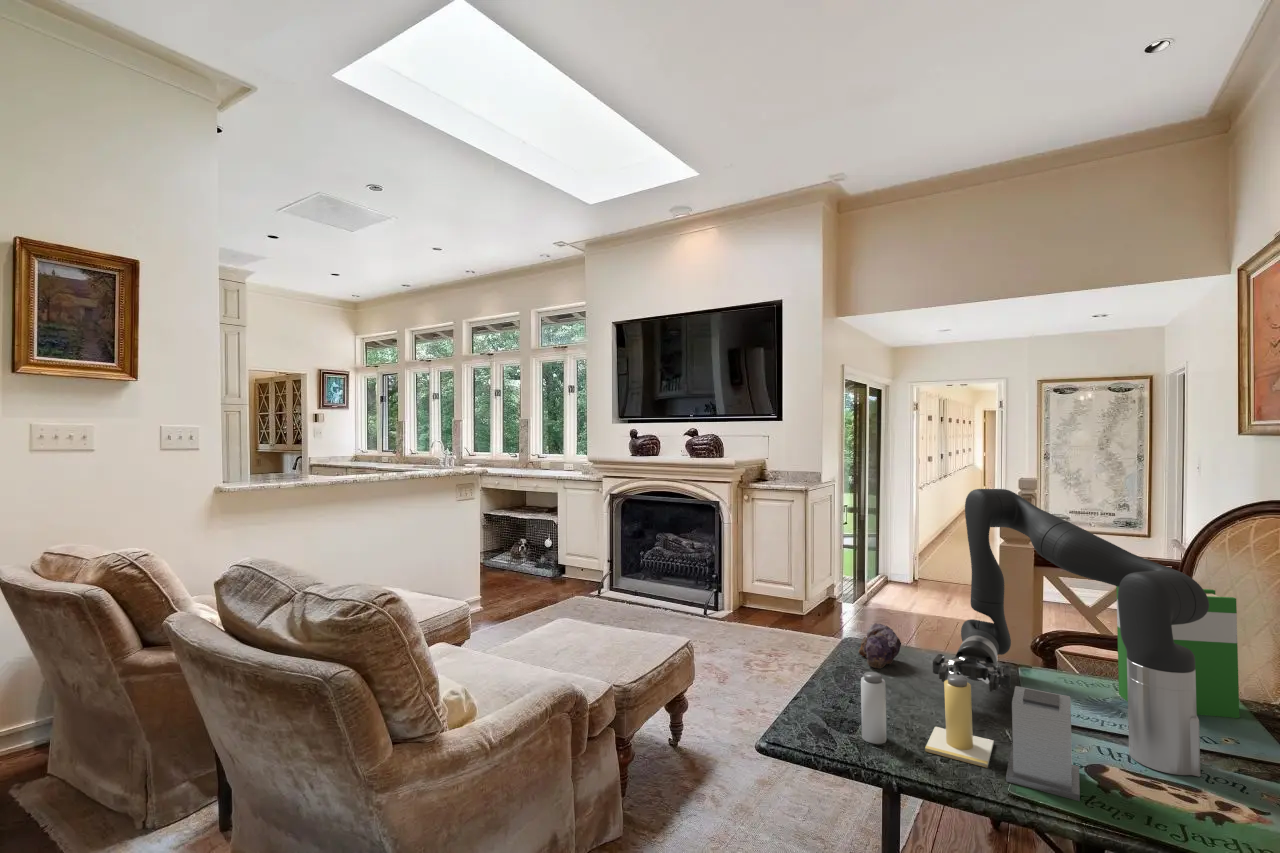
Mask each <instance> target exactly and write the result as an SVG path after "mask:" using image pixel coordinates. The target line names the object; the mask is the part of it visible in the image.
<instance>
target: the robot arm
mask: <svg viewBox="0 0 1280 853" xmlns="http://www.w3.org/2000/svg"><path fill="white" fill-rule="evenodd" d="M964 517H965V525H966V532H967V535H966V536H967V541H968V548H969V557H970V563H971V566H970V567H971V580H970V584H971V585H970V587H971V588H970V607H971V609H972V610H974V611H976V612H977V613H980V614H982V615H984V616H986V617H988V618H990V620H991V621H992V622H989V621H984V620H979V619H967V620H965V621H964V622H963V623H962V625H961V629H960V637H961V641H962V643H961V644H960V646H959V648H958V650H957V652H956V654H955V657H951V659H948V658H946V656H945V655H944V654H941V653H938V654H937V655H936V656H935V657H934V659H933V660H932V673H933V674H935V675H938V679H939V680H941V683H944V681H945V680H948V676H950V675H958V676H962V677H965V678H966V679H969V680H970V681H974V682H975V681H976V682H983V683H985V684H986V685H989V692H991V693H994V692H995V691H999V688H1000V687H1001V686H1003V687H1004V688H1006V689H1011V686H1012V684H1011V683H1012V678H1011V677H1012V676H1011V674H1012V672H1011V671H1012V670H1011V669H1012V668H1011V666H1010V665H1004V666H1003V667H1001V668H999V667H997V665H998V655H1000V656H1003V655H1005V654H1007V653H1008V652H1009V651H1010V649H1011V645H1012V641H1011V640H1012V639H1011V635H1010V631H1009V628H1008V624H1007V620H1006V616H1005V608H1004V607H1005V579H1004V574H1003V571H1002V569H1001V567H1000V565H999V563H998V561H997V559H996V557H995V555H994V553H993V551H992V548H991V543H990V531H991V528H1008V529H1011V530H1013V531H1017V532H1018V533H1021V534H1023V535H1025V536H1026V537H1028V538H1029V539H1030V542H1031V545H1032V547H1033V549H1034V550H1035V551H1036V553H1037V554H1038V555H1039V556H1041V557H1042V558H1044V559H1045V560H1046V561H1048V562H1050V563H1051V564H1053V565H1055V566H1056V567H1058V568H1061V569H1062V570H1064V571H1066V572H1068V573H1071V574H1073V575H1076V576H1080V577H1083V578H1087V579H1089V580H1092V581H1097V582H1100V583H1105V584H1108V585H1113V586H1115V587H1116V586H1117V587H1119V589H1118V608H1119V619H1120V631H1121V637H1122V640H1123V643H1124V645H1125V647H1126V651H1127V685H1128V702H1127V717H1128V720H1127V721H1128V723H1127V724H1128V726H1127V727H1128V754H1129V756H1130V757H1131V758H1132V759H1133V760H1134V761H1136V762H1137V763H1139V764H1140V765H1143V766H1145V767H1147V768H1149V769H1153V770H1155V771H1159V772H1162V773H1166V774H1171V775H1178V776H1193V777H1194V776H1195V777H1198V778H1199V777H1201V750H1200V749H1201V742H1200V739H1201V738H1200V720H1199V717H1198V715H1197V713H1196V674H1195V656H1194V654H1193V652H1192V651H1191V650H1189V649H1188V648H1186V647H1183V646H1181V645H1178V644H1175V643H1174V641H1173V634H1172V625H1178V624H1187V623H1191V622H1194V621H1197V620H1199V619H1201V618H1203V617H1204V616H1205V615H1206V614H1207V612H1208V609H1209V601H1208V598H1207V595H1206V593H1205V592H1204V590H1203V589H1204V588H1203V587H1202V586H1201V584H1199V582H1197V581H1196V580H1195V579H1193V578H1192V577H1190V576H1189V575H1187V574H1186V573H1183V572H1181V571H1179V570H1176V569H1174V568H1171V567H1168V566H1165V565H1162V564H1160V563H1157V562H1154V561H1152V560H1149V559H1146V558H1144V557H1142V556H1140V555H1137V554H1135V553H1133V552H1132V553H1131V552H1130V551H1128V550H1126V549H1124V548H1122V547H1120V546H1118V545H1116V544H1114V543H1112V542H1110V541H1109V540H1106V539H1104V538H1102V537H1100V536H1098V535H1096V534H1094V533H1092V532H1090V531H1088V530H1087V529H1084V528H1082V527H1080V526H1078V525H1077V524H1074V523H1073V522H1071V521H1070V522H1069V521H1068V520H1065V519H1063V518H1060V517H1059V516H1056V515H1054V514H1053V513H1050V512H1048V511H1045V510H1043V509H1041V508H1039V507H1037V506H1036V505H1035V504H1033V503H1031V502H1030V501H1028V500H1026V499H1025V498H1024V497H1022V496H1020V495H1019V494H1017V493H1016V492H1014V491H1011V490H1009V489H1005V488H976V489H973V490H971V491H970V492H969V493H968V494H967V496H966V498H965V502H964Z"/></svg>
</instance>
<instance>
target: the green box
mask: <svg viewBox="0 0 1280 853" xmlns="http://www.w3.org/2000/svg"><path fill="white" fill-rule="evenodd" d="M1115 587H1116V622H1117V623H1116V626H1117V627H1116V628H1117V629H1116V630H1117V632H1116V633H1117V634H1116V635H1117V666H1118V667H1117V668H1118V669H1117V670H1118V674H1117V675H1118V696H1120V697H1121V698H1123V699H1124V700H1125V701H1126V702H1127V703H1128V685H1127V651H1126V647H1125V645H1124V643H1123V640H1122V637H1121V631H1120V619H1119V608H1118V589H1119V587H1117V586H1115ZM1202 589H1203V590H1204V592H1205V593H1206V595H1207V598H1208V601H1209V609H1208V612H1207V614H1206V615H1205V616H1204V617H1203V618H1201V619H1199V620H1197V621H1194V622H1191V623H1187V624H1178V625H1172V634H1173V641H1174V643H1175V644H1178V645H1181V646H1183V647H1186V648H1188V649H1189V650H1191V651H1192V652H1193V654H1194V656H1195V674H1196V713H1197V716H1210V717H1220V718H1221V717H1223V718H1234V719H1240V697H1239V696H1240V694H1239V693H1240V689H1239V688H1240V687H1239V686H1240V685H1239V653H1238V648H1239V646H1238V613H1237V609H1238V608H1237V598H1236V597H1232V596H1231V597H1230V596H1219V595H1217V594H1216V590H1214V589H1210V588H1209V589H1207V588H1202Z"/></svg>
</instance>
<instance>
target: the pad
mask: <svg viewBox="0 0 1280 853" xmlns="http://www.w3.org/2000/svg"><path fill="white" fill-rule="evenodd" d="M994 743H995V740H994V739H993V740H992V739H989V738H985V737H980V736H976V735H973V748H972V749H969V750H961V749H956V748H953V747H951V746H949V745H948V744H947V742H946V728H943V727H939V726H934V728H933V730H932V732H931V733H930V737H929V739H928V741H927V743H926V745H925V748H924V751H925V752H926V753H930V754H933V755H936V756H942V757H944V758H947V759H953V760H956V761H961V762H963V763H967V764H971V765H975V766H979V767H983V768H986V769H988V768H989V764H990V759H991V755H992V752H993V747H994Z"/></svg>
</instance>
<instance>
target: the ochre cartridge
mask: <svg viewBox="0 0 1280 853" xmlns="http://www.w3.org/2000/svg"><path fill="white" fill-rule="evenodd" d="M943 685H944V686H943V687H944V688H943V689H944V714H945V718H944V719H945V729H946V742H947V744H948V745H949V746H951V747H953V748H956V749H961V750H969V749H972V748H973V736H974V735H973V733H974V732H973V730H974V729H973V712H972V710H973V708H972V706H973V703H972V684H970V683H969V682H968V678H967V677H964V676H963V677H962V676H958V675H950V676H948V679H947V680H945V681H944V682H943Z"/></svg>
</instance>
